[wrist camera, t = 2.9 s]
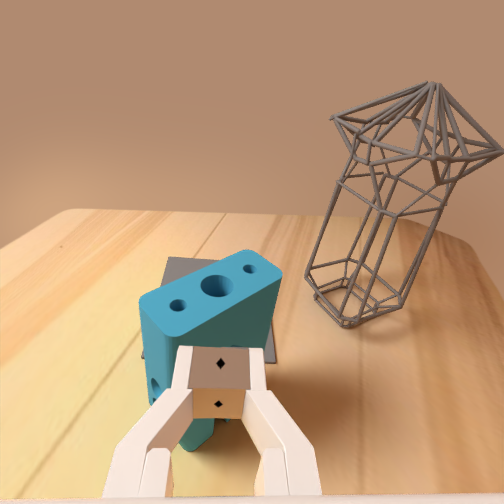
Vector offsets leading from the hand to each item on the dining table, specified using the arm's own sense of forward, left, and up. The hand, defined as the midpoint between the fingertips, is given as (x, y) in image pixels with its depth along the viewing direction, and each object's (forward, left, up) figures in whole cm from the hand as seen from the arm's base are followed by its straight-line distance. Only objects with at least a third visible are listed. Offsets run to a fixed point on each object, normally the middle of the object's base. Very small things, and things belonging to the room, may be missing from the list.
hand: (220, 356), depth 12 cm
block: (0, +13, -28) cm, 31 cm away
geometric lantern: (+22, +32, -28) cm, 48 cm away
